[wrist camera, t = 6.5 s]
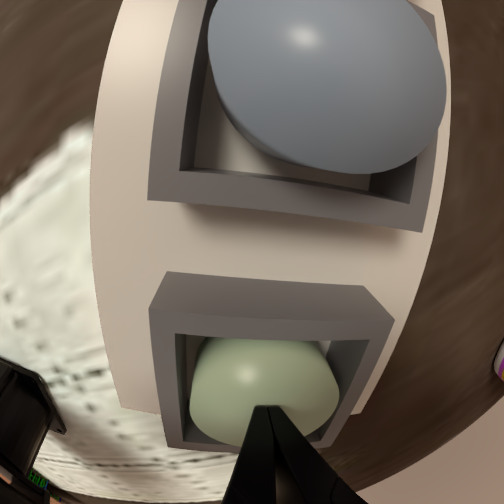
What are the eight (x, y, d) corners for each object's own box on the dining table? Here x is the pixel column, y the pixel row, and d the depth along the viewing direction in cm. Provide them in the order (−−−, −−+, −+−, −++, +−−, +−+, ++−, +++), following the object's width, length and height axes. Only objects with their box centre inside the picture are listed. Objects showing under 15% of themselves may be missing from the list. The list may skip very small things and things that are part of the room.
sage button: (304, 403, 11) (316, 443, 9) (195, 401, 11) (191, 444, 9) (335, 316, 10) (359, 356, 7) (195, 308, 9) (187, 353, 7)
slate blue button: (383, 182, 7) (437, 196, 5) (202, 154, 6) (188, 153, 4) (393, 33, 5) (439, 8, 3) (229, -8, 5) (230, -57, 3)
